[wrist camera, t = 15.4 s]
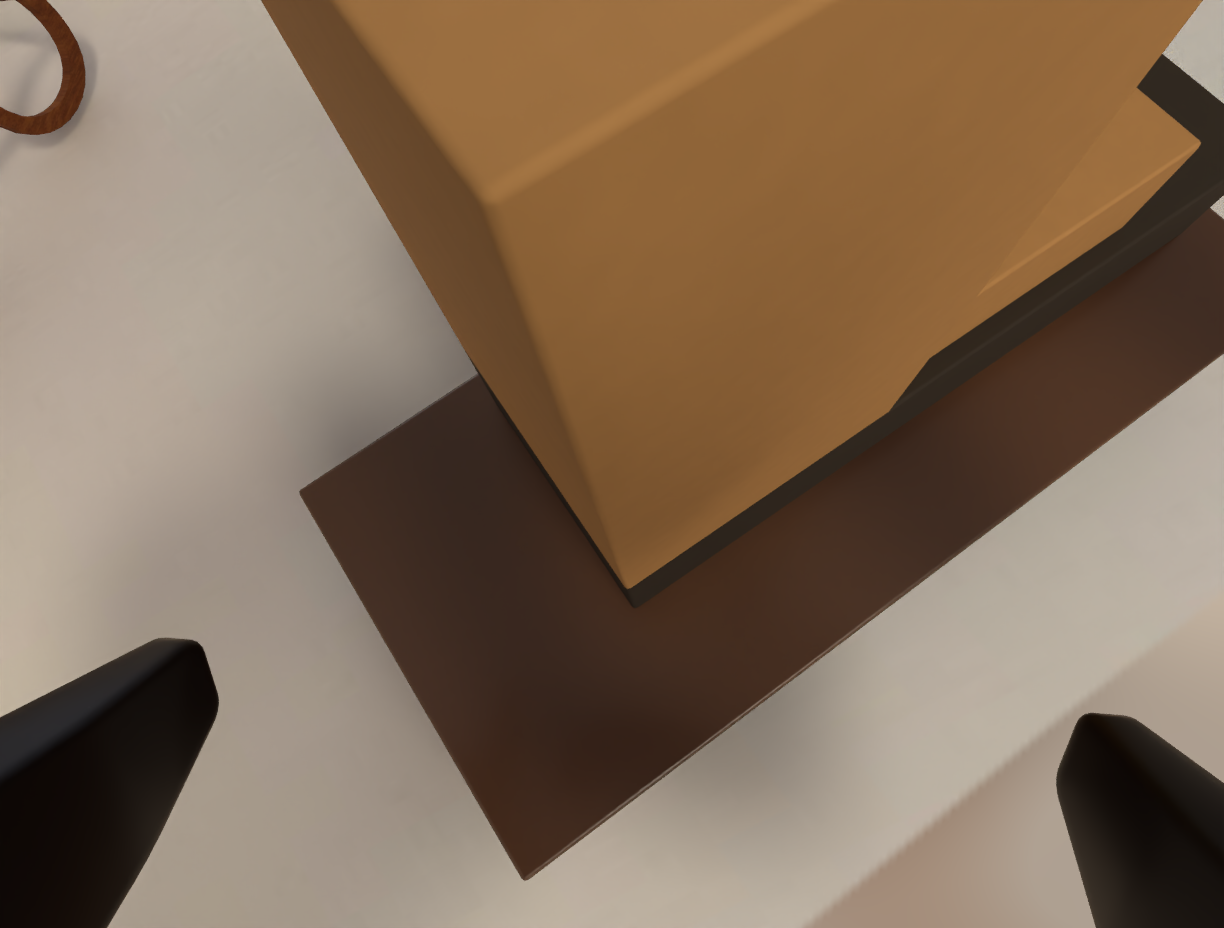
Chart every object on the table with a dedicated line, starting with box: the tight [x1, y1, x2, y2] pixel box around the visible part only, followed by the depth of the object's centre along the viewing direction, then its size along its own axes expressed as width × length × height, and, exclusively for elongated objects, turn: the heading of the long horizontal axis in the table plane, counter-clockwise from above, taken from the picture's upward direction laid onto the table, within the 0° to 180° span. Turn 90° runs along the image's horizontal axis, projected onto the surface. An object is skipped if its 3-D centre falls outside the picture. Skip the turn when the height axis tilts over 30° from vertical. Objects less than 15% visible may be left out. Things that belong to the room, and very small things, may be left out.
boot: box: [261, 0, 1224, 608], centre depth 11 cm, size 16×6×14 cm, turn 124°
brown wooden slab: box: [299, 208, 1224, 881], centre depth 19 cm, size 22×10×4 cm, turn 125°
